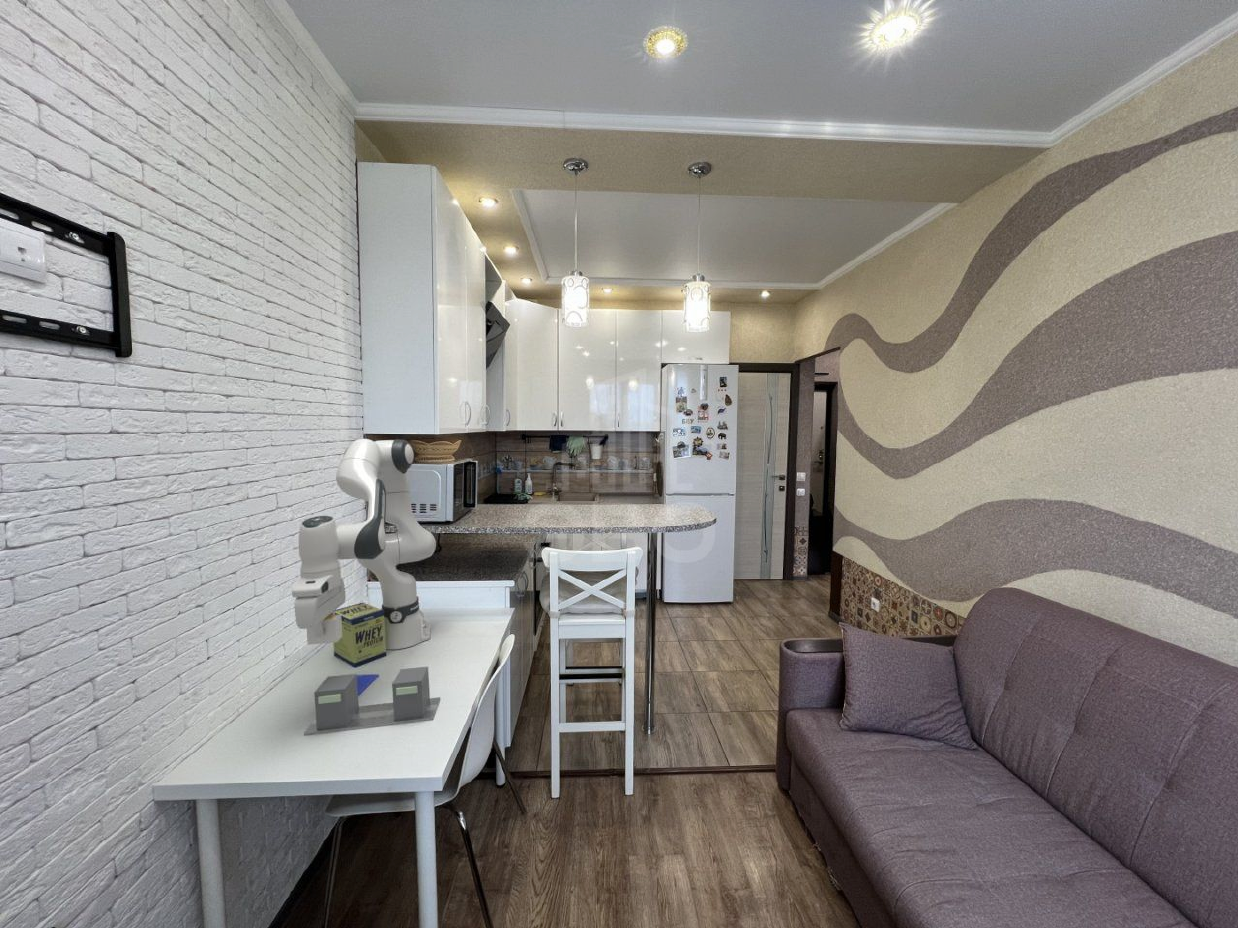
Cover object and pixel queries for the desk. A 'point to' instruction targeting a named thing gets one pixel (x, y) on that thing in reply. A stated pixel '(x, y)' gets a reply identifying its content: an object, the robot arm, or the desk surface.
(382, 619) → the protein box
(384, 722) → the rail plate
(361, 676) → the hard drive
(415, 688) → the block
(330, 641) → the loose module
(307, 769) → the desk surface
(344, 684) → the block
